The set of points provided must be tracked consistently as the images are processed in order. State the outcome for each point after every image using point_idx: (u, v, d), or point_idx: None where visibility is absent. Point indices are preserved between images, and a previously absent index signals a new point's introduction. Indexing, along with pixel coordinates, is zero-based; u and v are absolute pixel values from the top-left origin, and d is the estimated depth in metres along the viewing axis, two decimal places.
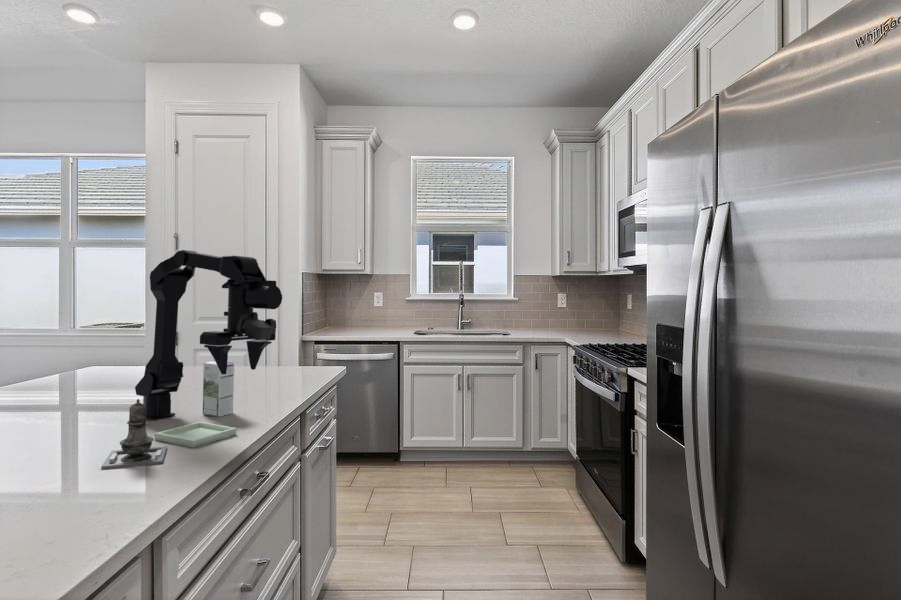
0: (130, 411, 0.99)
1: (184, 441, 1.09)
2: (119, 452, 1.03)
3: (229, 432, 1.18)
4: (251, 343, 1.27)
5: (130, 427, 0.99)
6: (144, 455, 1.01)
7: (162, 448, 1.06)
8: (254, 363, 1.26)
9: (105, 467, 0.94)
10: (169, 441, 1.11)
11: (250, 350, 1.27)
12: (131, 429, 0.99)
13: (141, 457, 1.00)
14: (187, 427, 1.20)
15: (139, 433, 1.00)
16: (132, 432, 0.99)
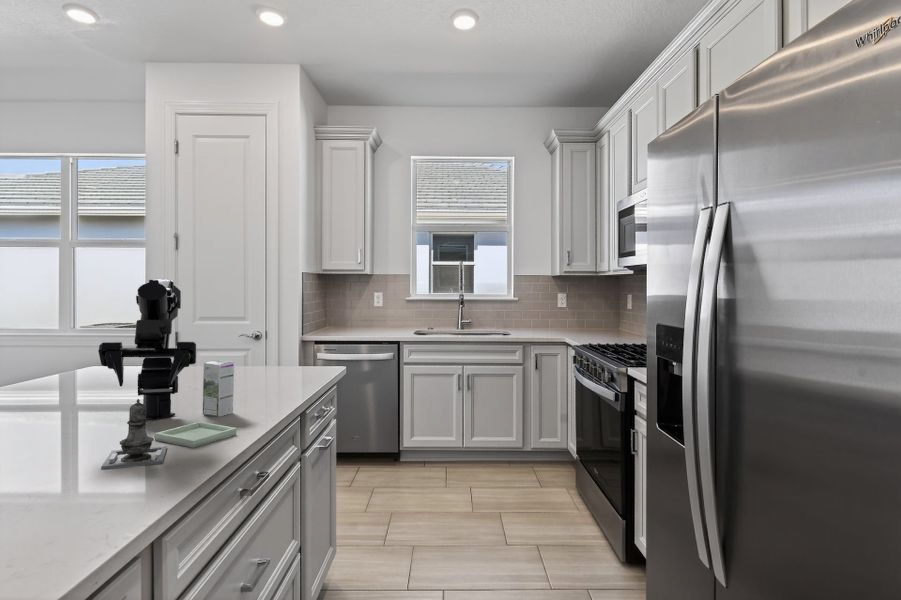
0: (130, 411, 0.99)
1: (184, 441, 1.09)
2: (119, 452, 1.03)
3: (229, 432, 1.18)
4: None
5: (130, 427, 0.99)
6: (144, 455, 1.01)
7: (162, 448, 1.06)
8: (169, 376, 1.11)
9: (105, 467, 0.94)
10: (169, 441, 1.11)
11: None
12: (131, 429, 0.99)
13: (141, 457, 1.00)
14: (187, 427, 1.20)
15: (139, 433, 1.00)
16: (132, 432, 0.99)
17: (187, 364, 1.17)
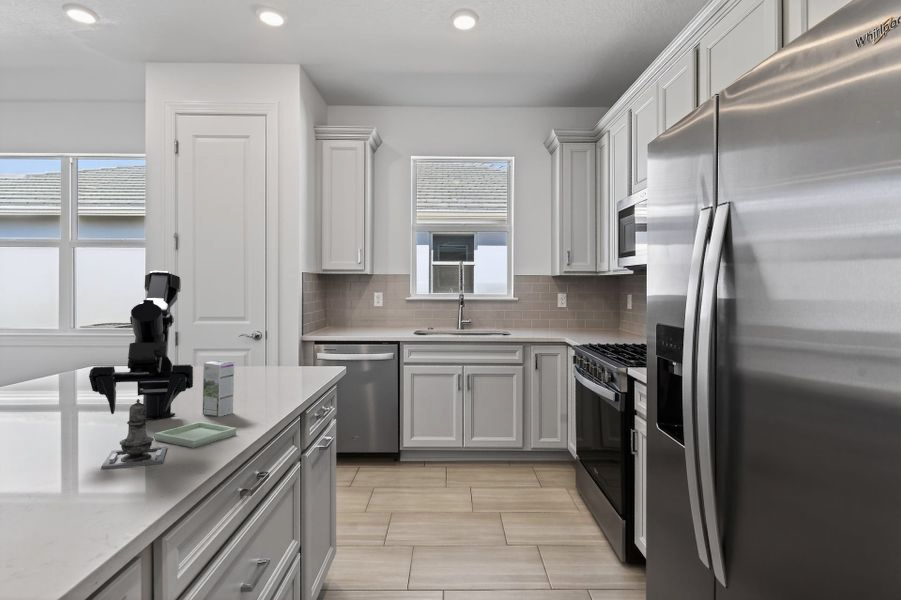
0: (130, 411, 0.99)
1: (184, 441, 1.09)
2: (119, 452, 1.03)
3: (229, 432, 1.18)
4: None
5: (130, 427, 0.99)
6: (144, 455, 1.01)
7: (162, 448, 1.06)
8: None
9: (105, 467, 0.94)
10: (169, 441, 1.11)
11: None
12: (131, 429, 0.99)
13: (141, 457, 1.00)
14: (187, 427, 1.20)
15: (139, 433, 1.00)
16: (132, 432, 0.99)
17: (183, 388, 1.11)
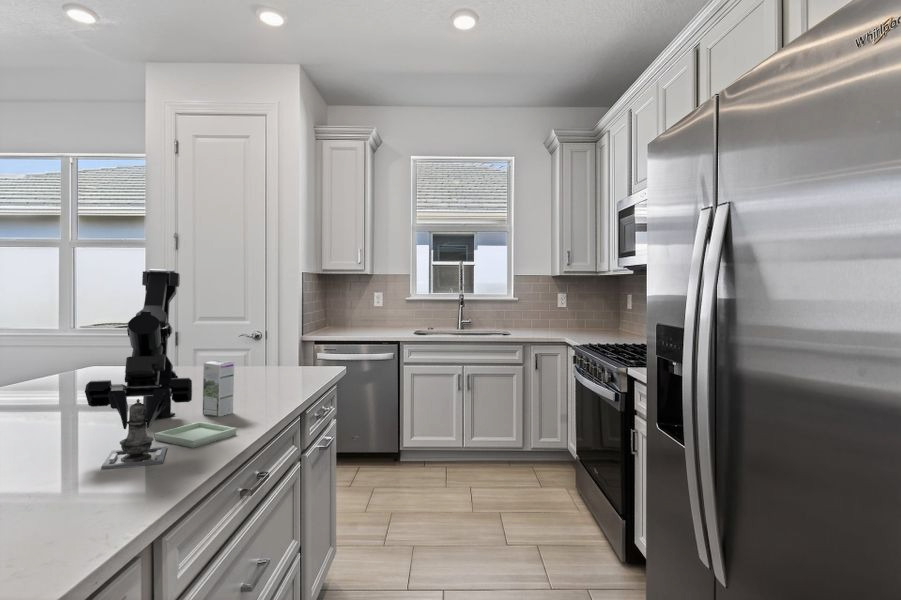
0: (130, 411, 0.99)
1: (184, 441, 1.09)
2: (119, 452, 1.03)
3: (229, 432, 1.18)
4: None
5: (130, 427, 0.99)
6: (144, 455, 1.01)
7: (162, 448, 1.06)
8: (147, 418, 1.01)
9: (105, 467, 0.94)
10: (169, 441, 1.11)
11: None
12: (131, 428, 0.99)
13: (141, 457, 1.00)
14: (187, 427, 1.20)
15: (139, 433, 1.00)
16: (132, 432, 0.99)
17: (168, 403, 1.07)
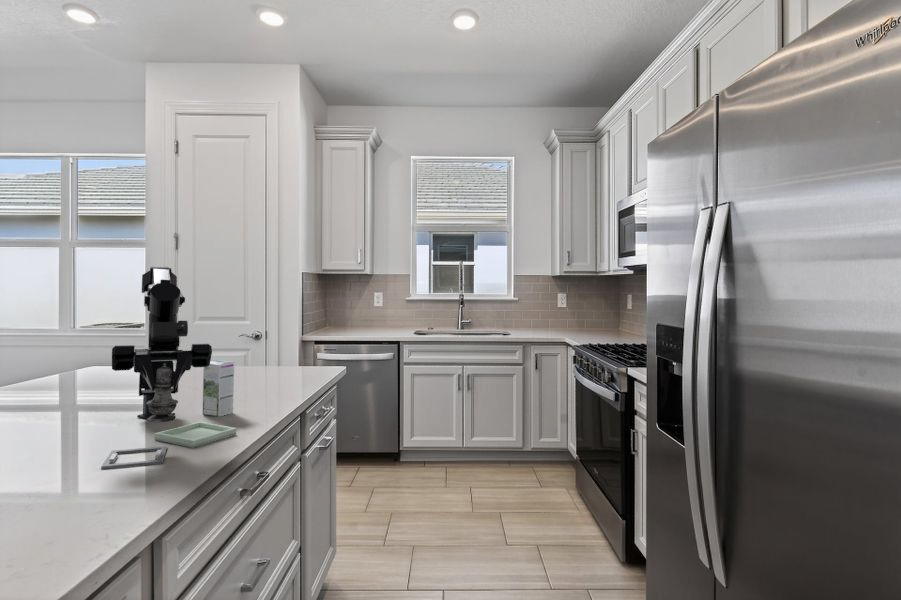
0: (157, 374, 1.04)
1: (184, 441, 1.09)
2: (119, 452, 1.03)
3: (229, 432, 1.18)
4: None
5: (157, 389, 1.04)
6: (169, 416, 1.06)
7: (162, 448, 1.06)
8: (173, 380, 1.06)
9: (105, 467, 0.94)
10: (169, 441, 1.11)
11: None
12: (158, 390, 1.04)
13: (167, 418, 1.05)
14: (187, 427, 1.20)
15: (166, 395, 1.05)
16: (160, 394, 1.04)
17: (188, 367, 1.12)
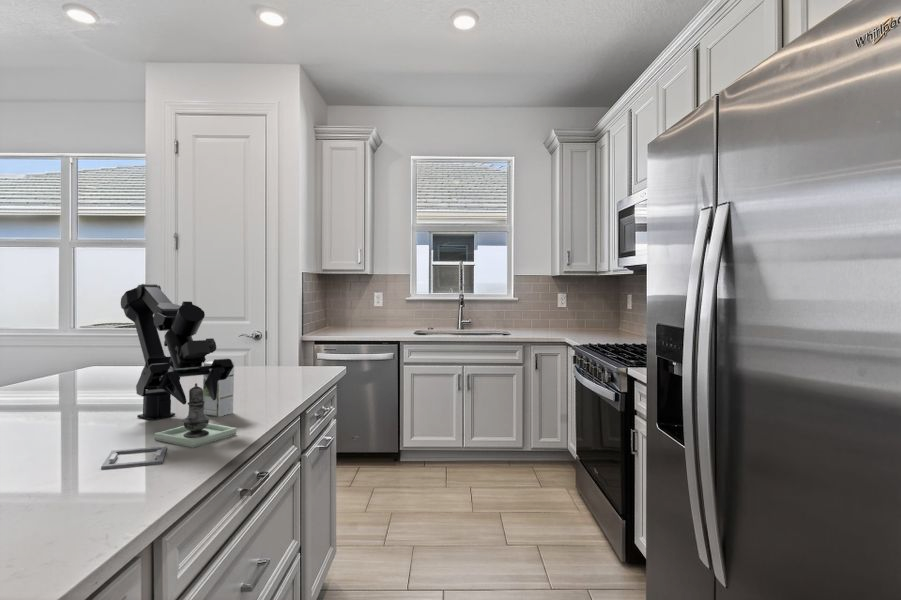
0: (192, 394, 1.15)
1: (184, 441, 1.09)
2: (119, 452, 1.03)
3: (229, 432, 1.18)
4: (207, 380, 1.22)
5: (193, 407, 1.15)
6: (202, 430, 1.17)
7: (162, 448, 1.06)
8: (213, 392, 1.18)
9: (105, 467, 0.94)
10: (169, 441, 1.11)
11: (208, 386, 1.21)
12: (194, 409, 1.15)
13: (203, 432, 1.16)
14: None
15: (200, 412, 1.16)
16: (196, 412, 1.15)
17: None
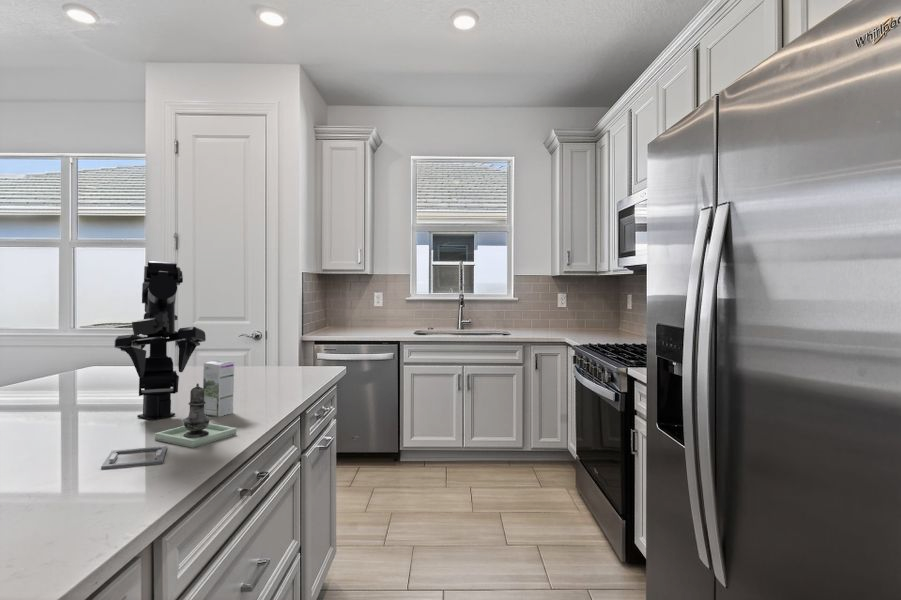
0: (193, 394, 1.15)
1: (184, 441, 1.09)
2: (119, 452, 1.03)
3: (229, 432, 1.18)
4: None
5: (194, 407, 1.15)
6: (202, 431, 1.17)
7: (162, 448, 1.06)
8: None
9: (105, 467, 0.94)
10: (169, 441, 1.11)
11: None
12: (194, 409, 1.15)
13: (203, 433, 1.16)
14: None
15: (201, 412, 1.16)
16: (196, 412, 1.15)
17: (197, 344, 1.21)
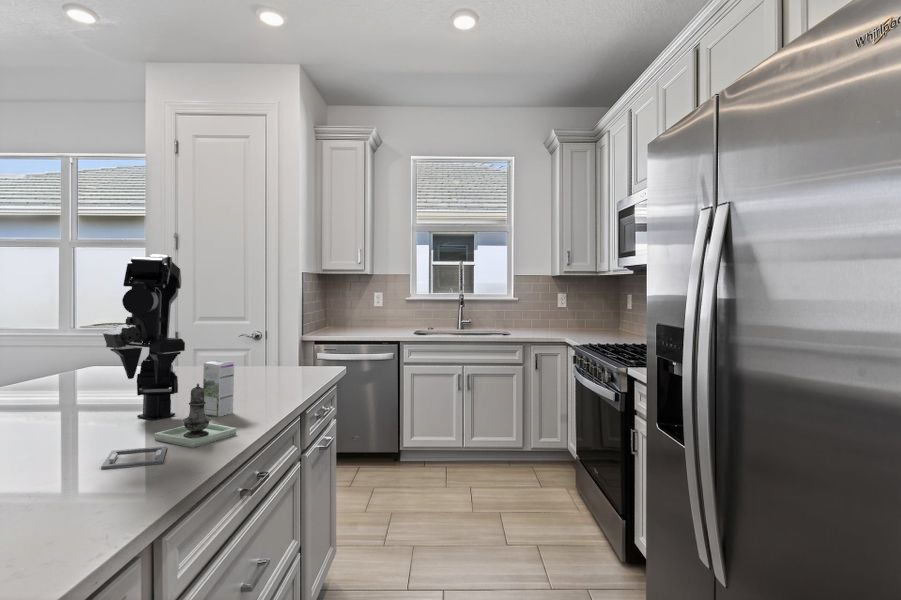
0: (193, 394, 1.15)
1: (184, 441, 1.09)
2: (119, 452, 1.03)
3: (229, 432, 1.18)
4: None
5: (194, 407, 1.15)
6: (202, 431, 1.17)
7: (162, 448, 1.06)
8: None
9: (105, 467, 0.94)
10: (169, 441, 1.11)
11: None
12: (195, 409, 1.15)
13: (203, 433, 1.16)
14: None
15: (201, 412, 1.16)
16: (196, 412, 1.15)
17: (176, 354, 1.13)
